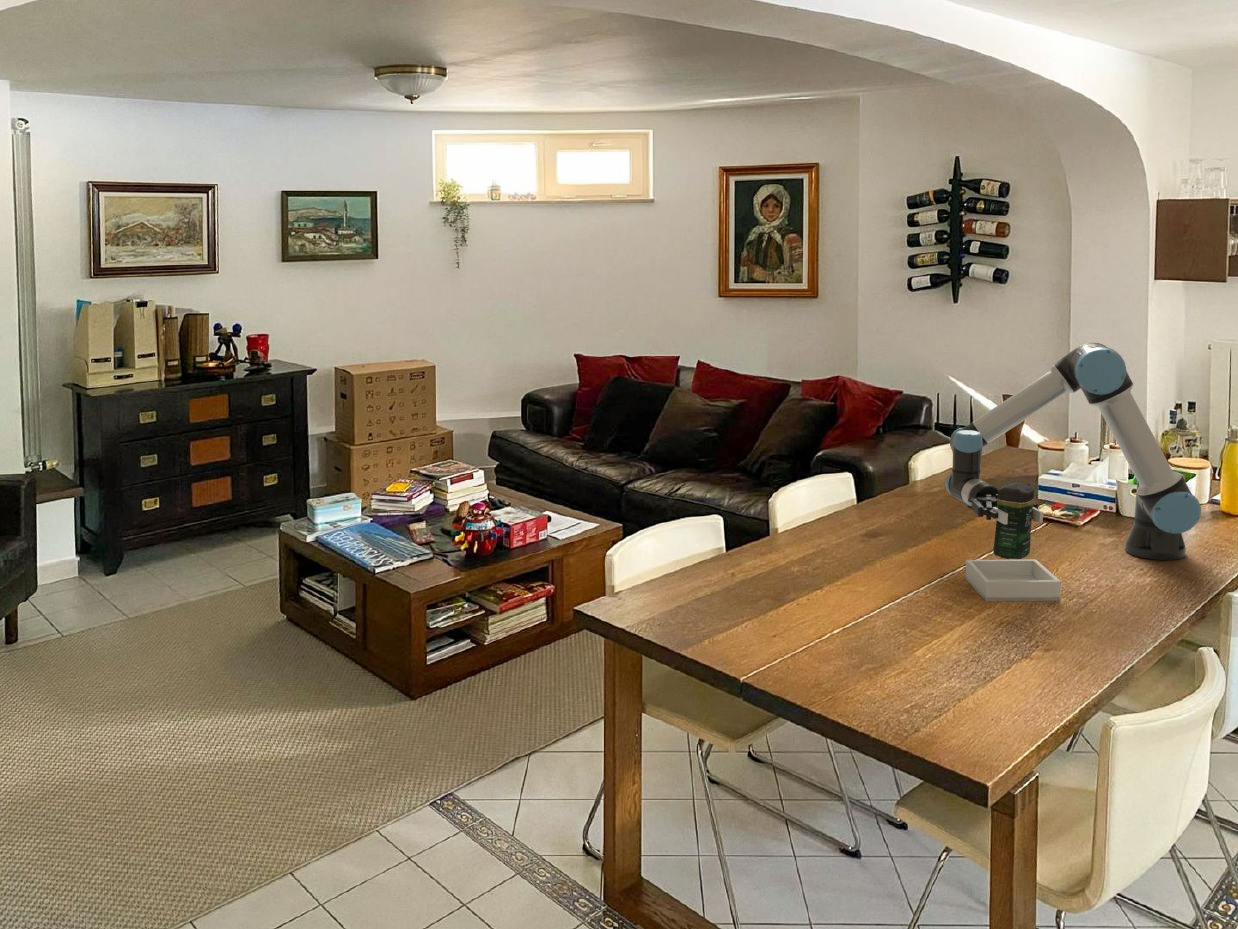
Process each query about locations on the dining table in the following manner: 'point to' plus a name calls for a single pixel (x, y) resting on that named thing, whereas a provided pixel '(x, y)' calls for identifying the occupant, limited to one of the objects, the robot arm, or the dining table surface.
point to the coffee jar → (1014, 521)
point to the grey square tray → (1012, 580)
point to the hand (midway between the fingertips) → (1023, 518)
